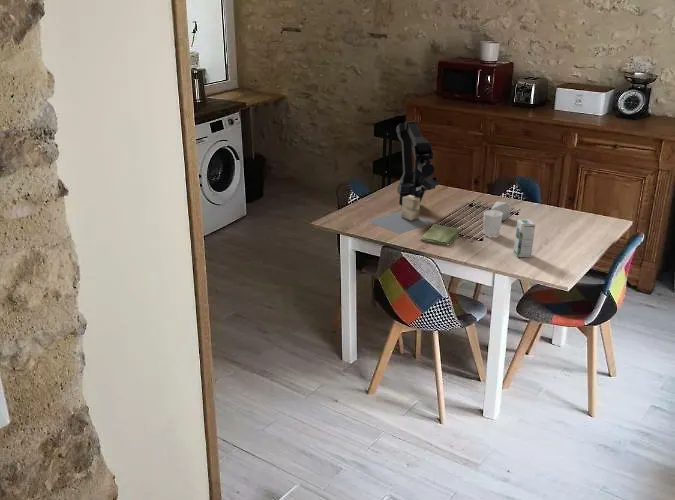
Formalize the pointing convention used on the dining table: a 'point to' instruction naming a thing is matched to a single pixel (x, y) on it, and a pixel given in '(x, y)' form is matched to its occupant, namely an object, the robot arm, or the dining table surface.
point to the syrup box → (524, 238)
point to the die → (502, 209)
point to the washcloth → (440, 234)
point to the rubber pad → (399, 222)
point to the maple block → (410, 208)
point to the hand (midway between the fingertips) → (418, 203)
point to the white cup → (492, 222)
